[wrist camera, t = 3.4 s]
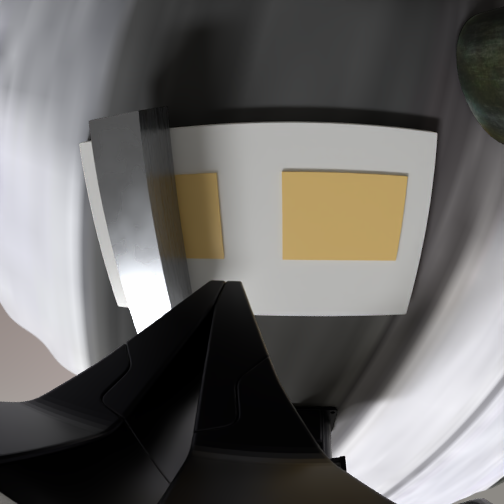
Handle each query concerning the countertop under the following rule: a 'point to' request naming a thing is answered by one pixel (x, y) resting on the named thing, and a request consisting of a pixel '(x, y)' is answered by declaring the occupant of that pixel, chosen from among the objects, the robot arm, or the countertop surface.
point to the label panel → (297, 213)
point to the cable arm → (142, 210)
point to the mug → (484, 69)
